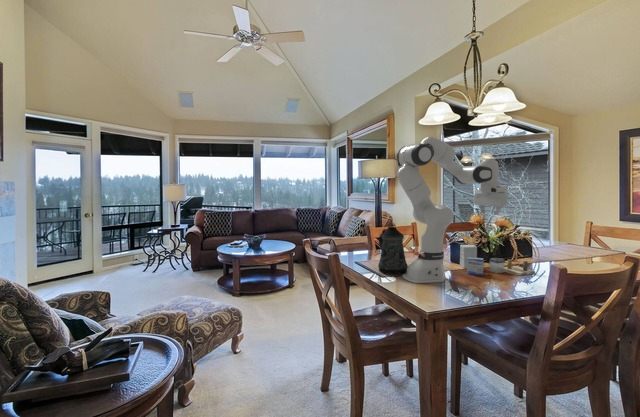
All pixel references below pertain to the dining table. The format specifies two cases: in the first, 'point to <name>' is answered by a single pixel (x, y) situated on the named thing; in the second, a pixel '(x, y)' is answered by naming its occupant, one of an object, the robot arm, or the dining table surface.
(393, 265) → the black tall carved piece
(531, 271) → the pinboard
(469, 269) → the medicine box
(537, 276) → the dining table surface
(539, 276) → the dining table surface
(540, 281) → the dining table surface
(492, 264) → the sleeve
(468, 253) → the supplement box
